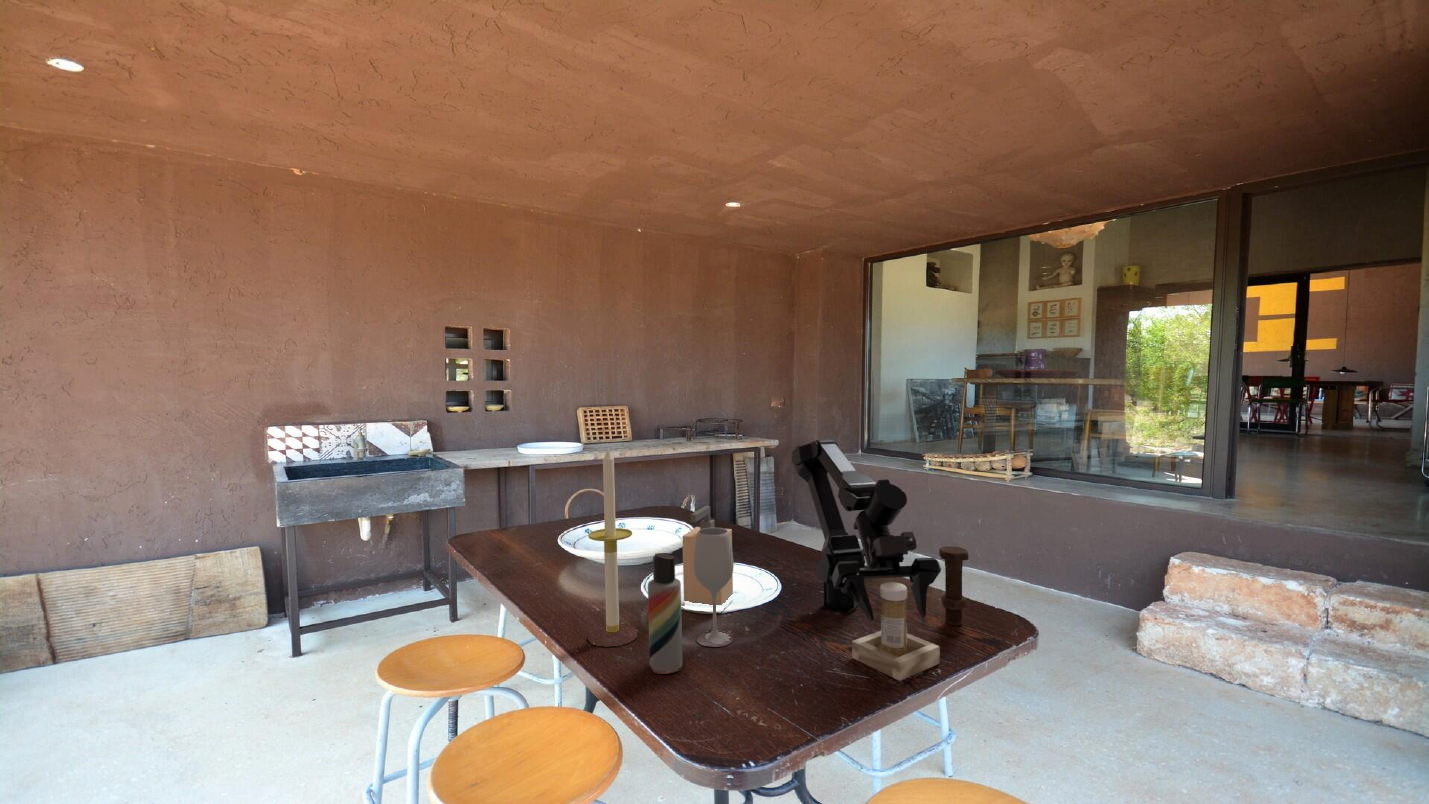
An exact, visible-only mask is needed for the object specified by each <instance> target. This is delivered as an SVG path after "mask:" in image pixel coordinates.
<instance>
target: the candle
mask: <svg viewBox="0 0 1429 804" xmlns="http://www.w3.org/2000/svg"><path fill="white" fill-rule="evenodd" d="M602 474H603V475H602V479H603V483H602V484H603V509H604V510H603V511H604V512H603V514H604V515H603V517H604V518H603V519H604V521H603V522H604V528H601V529H596V530H593V531H590V532H589V533H588V535H587V536H588V539H590V540H592V541H595V542H596V541H597V542H603V552H604V553H603V554H604V556H603V557H604V560H603V561H604V595H605V626H606V631H607V632H617V631H618V630H619V625H620V613H619V612H620V611H619V609H620V608H619V607H620V606H619V605H620V604H619V575H618V574H619V572H618V568H619V567H618V564H619V563H618V541H621V540H625V539H628V538H630V537H631V536H632V535H633V532H632V530H631V529H628V528H627V529H626V528H622V527H619V528H618V527H616V526H617V525H616V497H615V496H616V494H615V492H616V491H615V490H616V489H615V485H616V484H615V459H614V457H613V456H612V454H611V451H610V448H606V453H605V455H604V457H603V458H602Z"/></svg>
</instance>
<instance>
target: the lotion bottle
mask: <svg viewBox="0 0 1429 804" xmlns="http://www.w3.org/2000/svg"><path fill="white" fill-rule="evenodd" d="M675 560H676V558H675V555H673V554H671V553H668V552H657V553H654V556H653V557H652V575H653V577H652V579H650V580H649V581H648V584H647V604H648V607H647V608H648V609H647V611H648V644H649V645H648V646H649V647H648V648H649V649H648V651H649V652H648V653H649V667H650V666H651V667H652V669H654V670H659V671H672V670H676V669H678V668H679V667H681V666H682V667H683V630H682V629H683V628H682V625H683V623H682V618H683V617H682V583H681V581H680V579H678V578H676V561H675Z"/></svg>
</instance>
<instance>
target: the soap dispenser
mask: <svg viewBox="0 0 1429 804" xmlns="http://www.w3.org/2000/svg"><path fill="white" fill-rule="evenodd" d="M702 519H703V520H702ZM698 521H700V522H699V526H696V527H694V528H692V529H691V530H690V531H688V532H686V533H685V534H683V535H682V538H681V539H682V575H683V578H682V581H683V602H684V601H689V602H692V603H702V604H709V605H713V602H712V594H711V592H710V591H709V590H708V589H706V588H705V587H704V586H703V585H702V584H701V583H700V582H699V581H698V580H697V578H696V575H695V573H694V552H695V543H696V537H697V532H698V531H699V530H701V529H704V528H716V527H715V521H716V520H715V519H711V506H710V505H705V506H703V507H701V508H700V509H697V510H696V511H695V512H693V513H691V514H690V522H691V523H692V522H693V523H696V522H698ZM726 529H727V530H728V531H729V535H730V540H731V546H732V547H733V534H732V533H733V529H731V528H726ZM733 577H734V575H733V574H732V576H731V579H730V580H729V581H728V583H727V584H726V585H725V586H724V587H723V588H722V589H720V590H719V591H718V593H717V596H716V605H722V604H723V603H725V602H726V600H728V598H729V597H730V596H731V595H732V594H733V595H734V583H733V581H734V579H733Z"/></svg>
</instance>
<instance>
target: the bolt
mask: <svg viewBox="0 0 1429 804" xmlns="http://www.w3.org/2000/svg"><path fill="white" fill-rule="evenodd" d="M938 551H939V552H938V555H939V556H940V559H941V560H944V567H945V568H944V569H945V570H944V575H945V578H944V579H945V580H944V581H945V582H944V583H945V584H944V585H945V590H944V591H945V593H943V594H941V604H942V606H943V607H944V610H945V623H946V624H947V623H948V625H949V626H960V625H962V624H963V610H964V609H965V608H967V599H966V597H965V596H964V595H963V565H964V561H968V560H969V551H968V549H966V548H964V547H960V546H952V545H951V546H947V545H946V546H942V547H940V548H939V550H938Z"/></svg>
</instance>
